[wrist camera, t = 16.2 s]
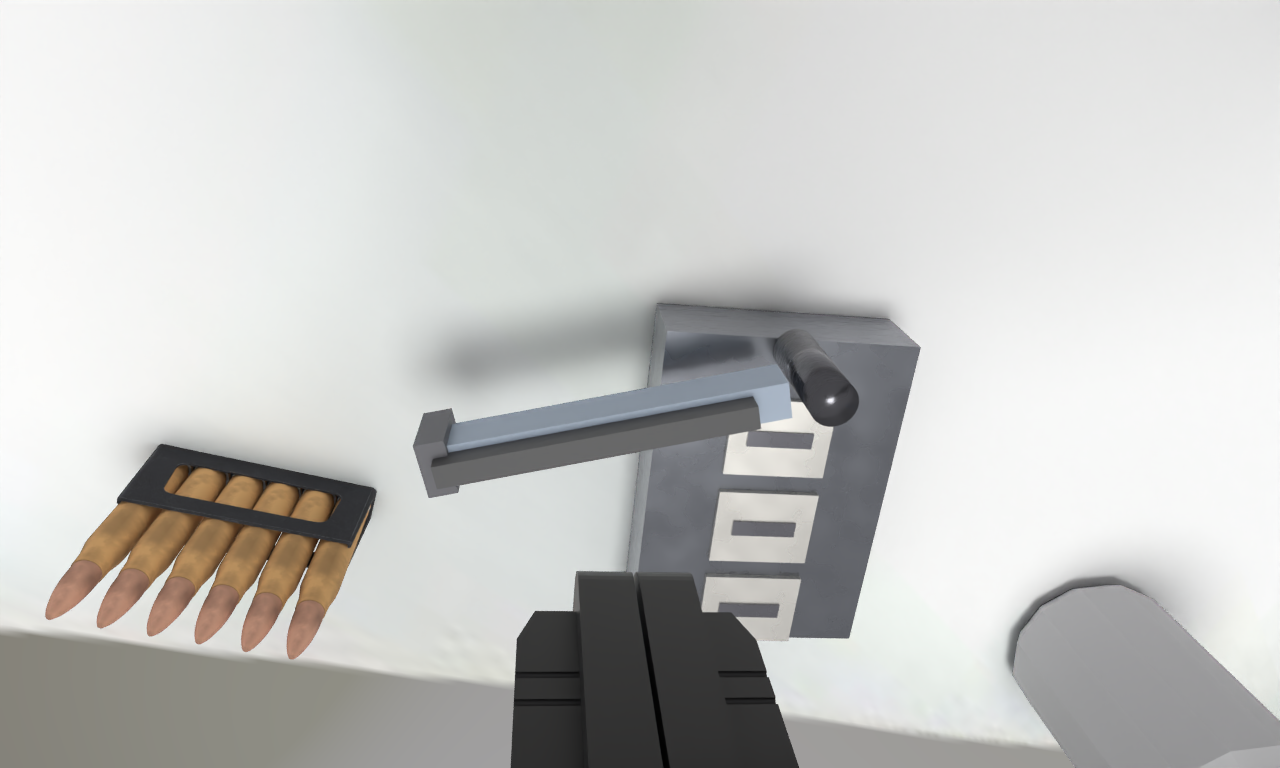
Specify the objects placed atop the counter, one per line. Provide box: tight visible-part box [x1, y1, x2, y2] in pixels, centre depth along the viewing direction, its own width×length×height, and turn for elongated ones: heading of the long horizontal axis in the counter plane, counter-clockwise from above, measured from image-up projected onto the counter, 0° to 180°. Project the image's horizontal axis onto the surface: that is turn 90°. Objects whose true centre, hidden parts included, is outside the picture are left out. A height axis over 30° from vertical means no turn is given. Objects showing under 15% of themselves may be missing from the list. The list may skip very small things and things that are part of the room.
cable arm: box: [413, 364, 792, 498], centre depth 35 cm, size 2×15×4 cm, turn 99°
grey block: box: [626, 303, 921, 641], centre depth 41 cm, size 12×18×10 cm
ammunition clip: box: [45, 444, 376, 659], centre depth 38 cm, size 11×2×12 cm, turn 73°
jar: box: [1012, 585, 1280, 768], centre depth 45 cm, size 10×10×18 cm
